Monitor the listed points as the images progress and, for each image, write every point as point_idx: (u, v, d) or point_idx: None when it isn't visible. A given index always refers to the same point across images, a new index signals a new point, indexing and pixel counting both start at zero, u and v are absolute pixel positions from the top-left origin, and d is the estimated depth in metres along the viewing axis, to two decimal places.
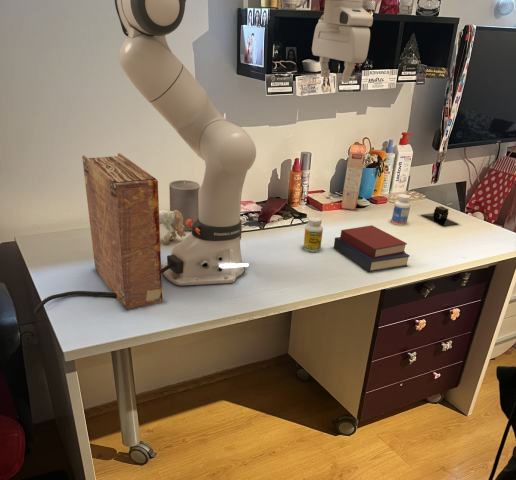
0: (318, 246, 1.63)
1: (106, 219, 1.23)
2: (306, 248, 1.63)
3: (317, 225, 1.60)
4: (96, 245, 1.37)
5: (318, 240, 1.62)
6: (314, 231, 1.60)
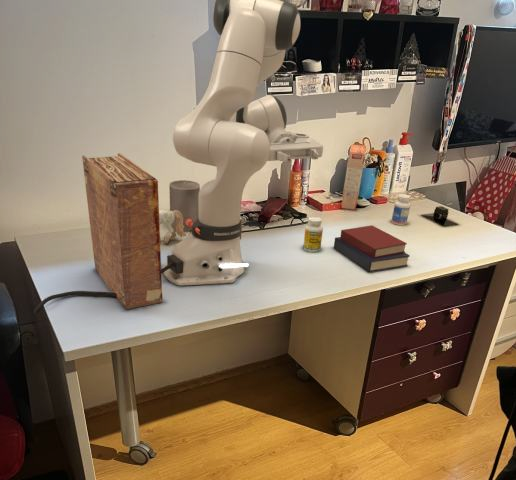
0: (318, 246, 1.63)
1: (106, 219, 1.23)
2: (306, 248, 1.63)
3: (317, 225, 1.60)
4: (96, 245, 1.37)
5: (318, 240, 1.62)
6: (314, 231, 1.60)
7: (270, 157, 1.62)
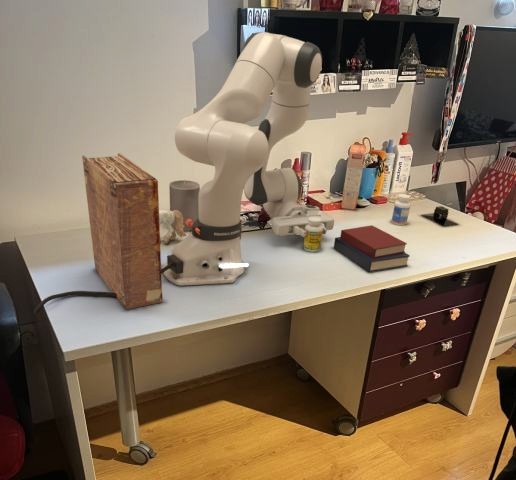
0: (318, 246, 1.63)
1: (106, 219, 1.23)
2: (306, 248, 1.63)
3: (317, 225, 1.60)
4: (96, 245, 1.37)
5: (318, 240, 1.62)
6: (314, 231, 1.60)
7: (283, 232, 1.62)
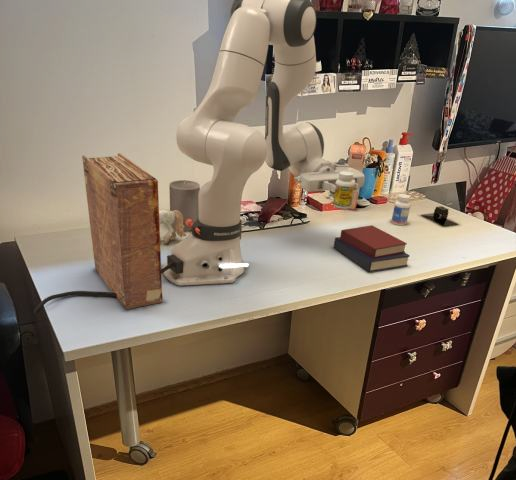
0: (349, 202, 1.54)
1: (106, 219, 1.23)
2: (336, 205, 1.55)
3: (349, 179, 1.51)
4: (96, 245, 1.37)
5: (350, 196, 1.53)
6: (346, 186, 1.51)
7: (312, 187, 1.53)
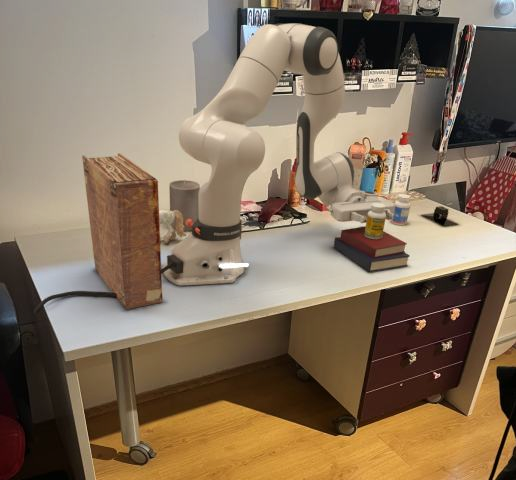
0: (381, 233, 1.57)
1: (106, 219, 1.23)
2: (368, 235, 1.57)
3: (381, 211, 1.53)
4: (96, 245, 1.37)
5: (381, 227, 1.55)
6: (378, 218, 1.53)
7: (344, 218, 1.56)
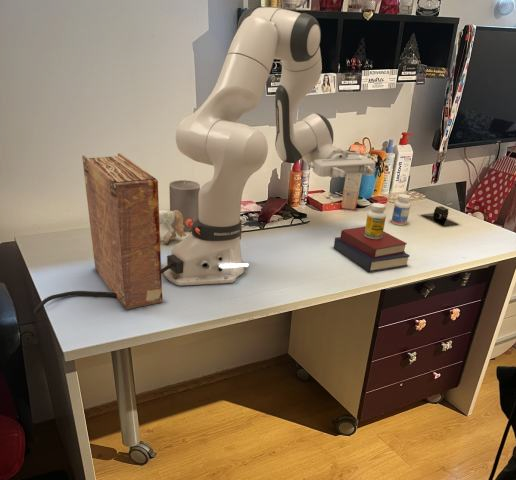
0: (381, 233, 1.57)
1: (106, 219, 1.23)
2: (368, 235, 1.57)
3: (381, 211, 1.53)
4: (96, 245, 1.37)
5: (381, 227, 1.55)
6: (378, 218, 1.53)
7: (325, 173, 1.60)
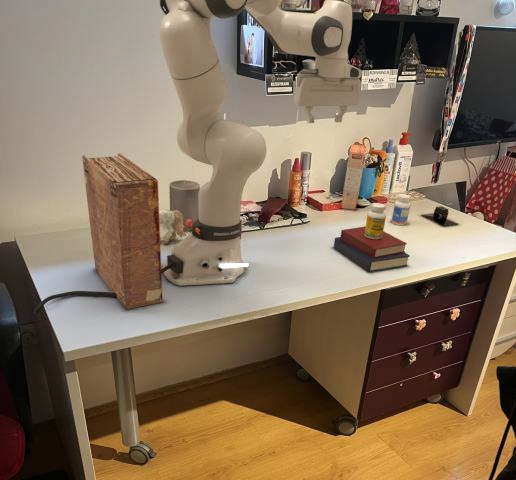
0: (381, 233, 1.57)
1: (106, 219, 1.23)
2: (368, 235, 1.57)
3: (381, 211, 1.53)
4: (96, 245, 1.37)
5: (381, 227, 1.55)
6: (378, 218, 1.53)
7: None
